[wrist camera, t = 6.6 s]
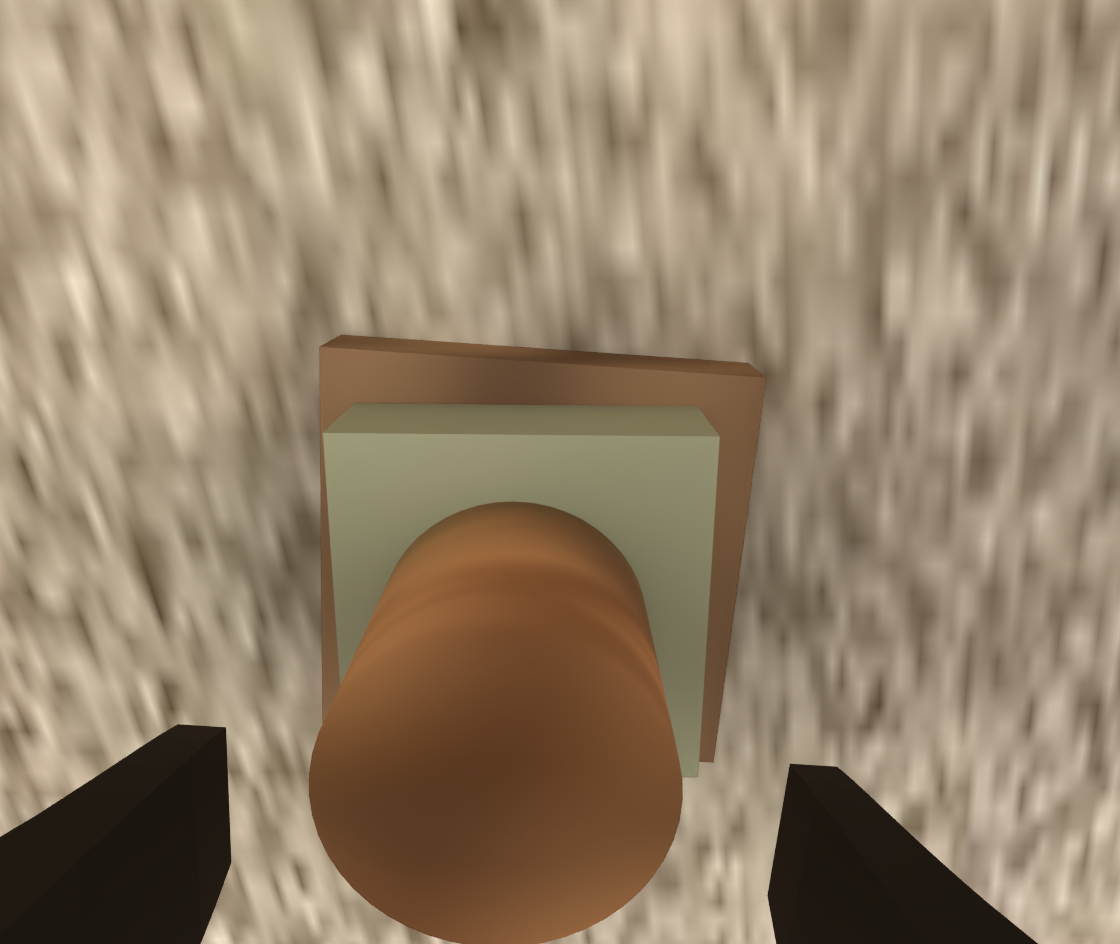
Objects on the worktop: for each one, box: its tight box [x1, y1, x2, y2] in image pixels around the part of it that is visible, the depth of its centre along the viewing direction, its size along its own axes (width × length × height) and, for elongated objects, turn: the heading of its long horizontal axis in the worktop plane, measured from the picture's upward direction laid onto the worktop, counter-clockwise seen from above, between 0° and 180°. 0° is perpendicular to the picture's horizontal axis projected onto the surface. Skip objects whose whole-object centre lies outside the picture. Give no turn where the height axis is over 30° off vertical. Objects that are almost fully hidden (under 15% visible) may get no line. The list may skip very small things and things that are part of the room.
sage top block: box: [323, 403, 720, 777], centre depth 18 cm, size 7×7×2 cm
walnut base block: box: [319, 335, 766, 762], centre depth 20 cm, size 9×9×2 cm
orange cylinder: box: [309, 501, 683, 944], centre depth 14 cm, size 5×5×5 cm
